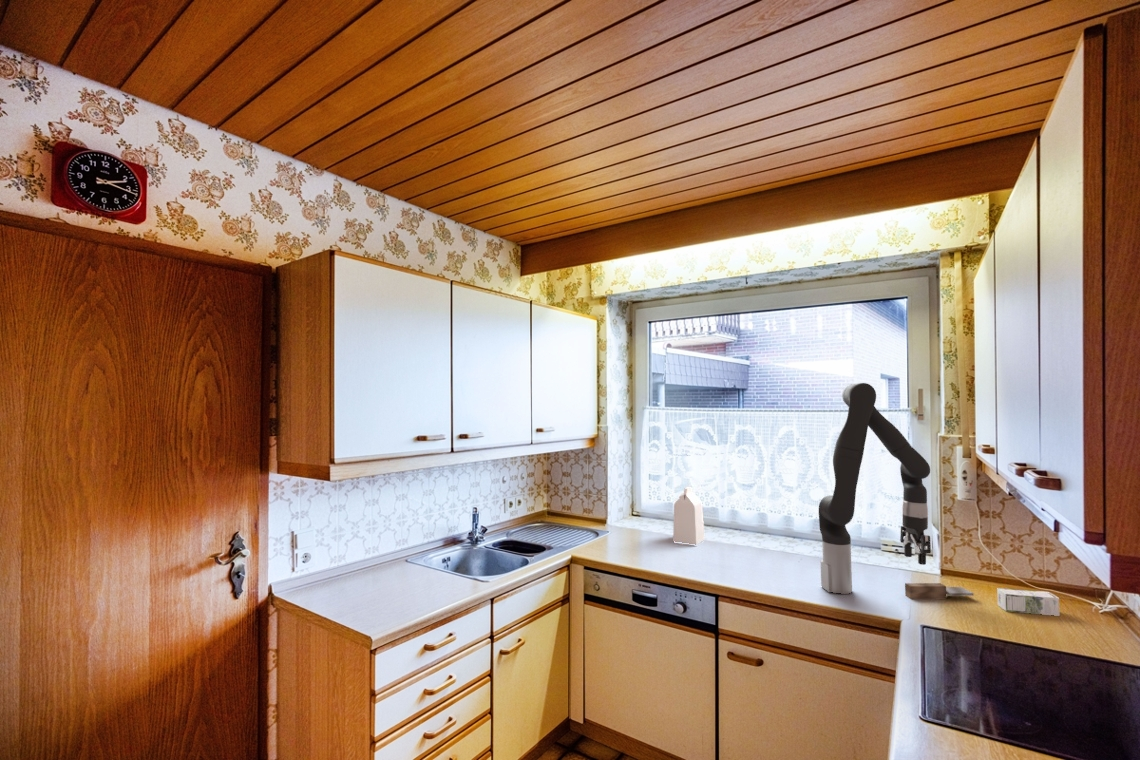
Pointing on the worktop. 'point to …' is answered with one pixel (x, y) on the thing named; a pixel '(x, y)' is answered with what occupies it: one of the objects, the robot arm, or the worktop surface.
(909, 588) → the turner
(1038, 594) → the syrup box
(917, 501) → the robot arm
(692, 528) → the milk
